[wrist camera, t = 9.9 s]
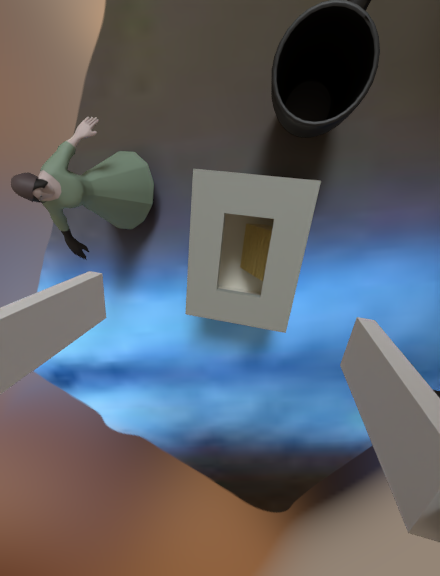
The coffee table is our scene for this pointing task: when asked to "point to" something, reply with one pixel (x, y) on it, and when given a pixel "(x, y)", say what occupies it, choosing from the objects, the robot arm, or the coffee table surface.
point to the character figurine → (90, 187)
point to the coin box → (229, 244)
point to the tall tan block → (256, 249)
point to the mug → (324, 66)
